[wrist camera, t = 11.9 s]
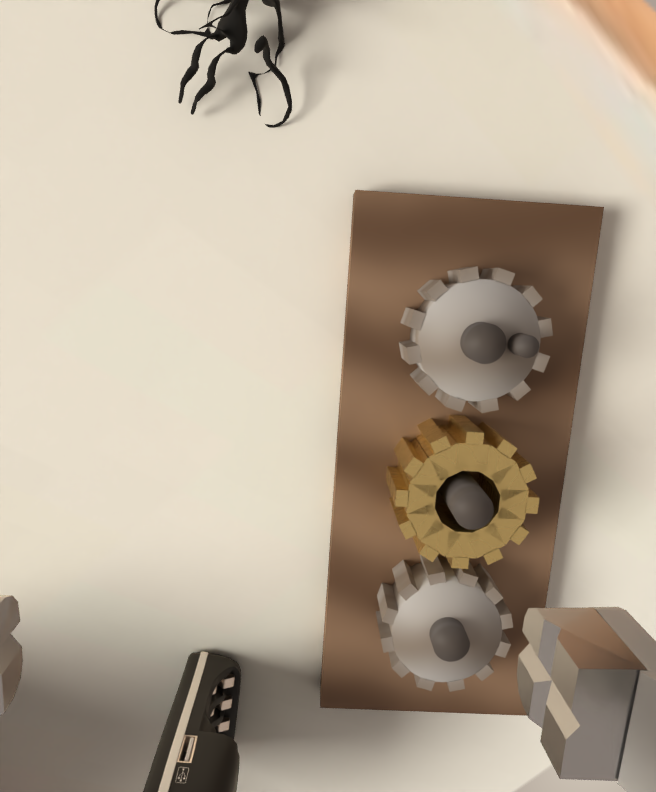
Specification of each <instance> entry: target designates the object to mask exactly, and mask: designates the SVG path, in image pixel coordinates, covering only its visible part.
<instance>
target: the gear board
mask: <svg viewBox="0 0 656 792" xmlns="http://www.w3.org/2000/svg"><path fill="white" fill-rule="evenodd" d="M603 209H604V207H595V206H580V205H566V204H551V203H537V202H522V201H508V200H493V199H479V198H464V197H450V196H435V195H421V194H407V193H392V192H378V191H363V190H355V193H354V196H353V211H352V226H351V240H350V255H349V270H348V285H347V300H346V315H345V329H344V344H343V359H342V374H341V389H340V403H339V418H338V433H337V448H336V463H335V478H334V492H333V507H332V522H331V537H330V552H329V567H328V581H327V596H326V611H325V626H324V641H323V655H322V670H321V685H320V708H345V709H372V710H398V711H424V712H450V713H476V714H502V715H527V714H526V712H525V710H524V708H523V705H522V702H521V699H520V695H519V692H518V682H517V666H518V657H519V654H520V653H521V652H522V651H523V650H524V649H525V648H526V647H527V645H528V644H529V641H528V640H527V638H526V636H525V634H524V633H523V631H522V629H523V623H524V617H525V615H526V613H527V610H528V608H545V605H546V598H547V591H548V584H549V578H550V571H551V564H552V557H553V550H554V543H555V537H556V530H557V523H558V516H559V509H560V503H561V496H562V489H563V482H564V475H565V468H566V462H567V455H568V448H569V441H570V434H571V428H572V421H573V414H574V407H575V400H576V394H577V387H578V380H579V373H580V366H581V359H582V353H583V346H584V339H585V332H586V325H587V319H588V312H589V305H590V298H591V291H592V284H593V278H594V271H595V264H596V257H597V250H598V244H599V237H600V230H601V223H602V216H603ZM449 415H465V416H466V417H467V418H468V419H469V420H470V421H472V422H473V423H474V424H475V425H476V426H477V427H478V426H479V425H480V423H481V422H482V421H483V422H484V423H486V424H487V425H489V426H490V427H491V428H493V429H494V430H496V431H497V432H498V433H499V434H501V435H502V436H503V437H504V438H505V439H507V440H508V441H509V442H510V443H512V444H513V445H514V446H515V447H516V448H518V449H517V450H516V452H517V453H518V454H520V455H521V456H522V457H523V458H524V459H526V460H527V461H528V462H529V463H530V464H531V466H532V468H533V471H534V473H535V475H536V477H537V479H535V480H533V481H530V482H528V483H526V484H527V486H528V487H529V488H530V489H531V490H532V491H533V492H534V493H535V494H536V495H537V496H538V497H539V505H538V512H537V514H530V513H526V515H525V520H524V522H523V523H522V524H523V525H524V526H525V528H526V529H527V530H528V531H529V533H528V535H527V536H526V537H525V539H524V540H523V541H522V542H521V544H520V545H518V544H516V543H515V542H513V541H512V540H509V541H508V543H507V544H504V545H505V546H503V547H501V548H499V550H500V552H501V554H502V556H503V558H502V559H500V560H498V561H496V562H493V563H491V564H489V565H488V564H487V563H486V561H485V560H484V558H483V556H481V557H479V558H477V557H476V559H475V558H469V565H468V569H459V568H451V566H450V564H449V562H448V560H447V558H446V556H445V557H444V556H443V555H441V554H440V553H439V554H438V556H437V557H436V558H435V560H434V561H433V562H431V561H430V560H428V559H426V558H425V557H423V556H422V555H420V554H419V553H418V550H417V548H416V545H415V542H414V540H413V537H410V538H408V539H405V537H404V535H403V533H402V531H401V529H400V527H399V525H398V522H397V519H396V516H395V513H394V510H393V507H392V505H391V502H390V499H389V498H390V497H392V496H391V493H390V491H389V488H388V485H387V482H386V476H387V466H389V467H398V461H399V460H398V458H397V456H396V454H395V451H394V448H395V447H396V445H397V444H398V443H399V441H400V440H401V438H402V437H403V438H405V439H406V440H408V441H409V442H412V441H413V439H414V438H416V437H417V436H419V435H421V433H420V431H419V429H418V426H417V425H418V424H420V423H422V422H424V421H426V420H428V419H430V418H431V419H432V420H433V421H434V422H435V424H436V425H437V426H439V425H448V422H449ZM478 479H479V472H476V471H461V472H459V473H457V474H454V475H452V476H450V477H448V478H446V480H445V481H444V482H443V484H442V485H441V486H440V488H439V489H438V491H437V492H436V500H435V501H436V502H438V503H439V504H447V506H448V508H449V509H450V511H451V513H452V514H453V516H454V518H455V519H456V521H457V522H458V524H459V525H461V526H462V527H464V528H466V529H471V530H475V529H479V528H482V527H484V526H485V525H487V524H488V523H489V521H490V520H491V518H492V516H493V513H494V507H493V503H492V501H491V499H490V498H489V497H488V496H487V494H486V493H485V492H484V491H483V489H482V488H481V487H480V486H479V485H478Z"/></svg>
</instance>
